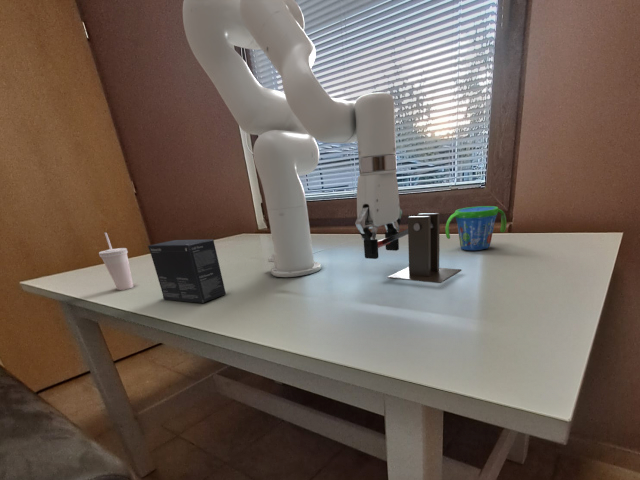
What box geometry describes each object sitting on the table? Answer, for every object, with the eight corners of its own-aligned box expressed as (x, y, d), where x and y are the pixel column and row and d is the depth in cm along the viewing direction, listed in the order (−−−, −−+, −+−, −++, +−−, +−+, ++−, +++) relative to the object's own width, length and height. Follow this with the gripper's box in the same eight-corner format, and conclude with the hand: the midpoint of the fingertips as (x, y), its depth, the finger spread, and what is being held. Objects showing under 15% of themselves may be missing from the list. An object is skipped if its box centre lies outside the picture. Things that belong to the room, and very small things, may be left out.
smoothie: (131, 283, 102) (113, 230, 96) (143, 285, 99) (125, 230, 93) (107, 290, 98) (86, 234, 92) (119, 292, 94) (98, 235, 88)
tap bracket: (387, 282, 80) (384, 219, 74) (410, 270, 86) (409, 212, 81) (440, 288, 72) (441, 218, 67) (461, 275, 79) (463, 211, 74)
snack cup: (449, 254, 97) (450, 213, 93) (441, 247, 107) (441, 209, 103) (511, 249, 96) (515, 207, 92) (498, 242, 106) (500, 203, 101)
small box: (227, 294, 83) (214, 238, 78) (203, 304, 78) (188, 245, 73) (187, 290, 89) (173, 238, 84) (162, 299, 84) (146, 245, 79)
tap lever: (373, 252, 81) (369, 241, 81) (387, 247, 85) (383, 236, 85) (425, 230, 72) (421, 218, 72) (438, 225, 76) (434, 214, 76)
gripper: (385, 165, 84) (388, 245, 92) (336, 170, 72) (345, 262, 80) (415, 162, 80) (416, 246, 87) (368, 167, 68) (374, 264, 75)
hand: (382, 253), depth 83 cm, fingers open, 7 cm apart
